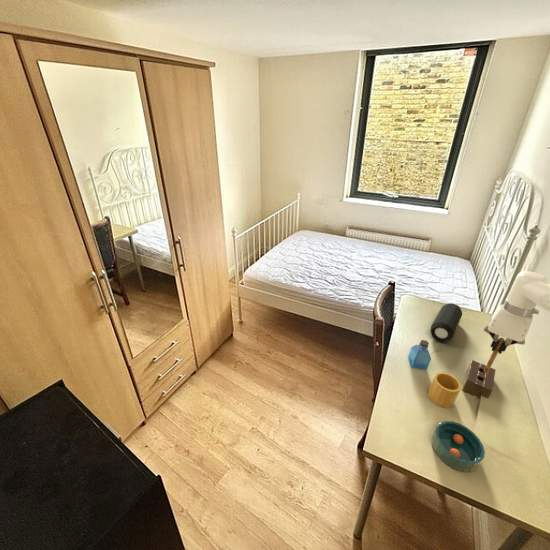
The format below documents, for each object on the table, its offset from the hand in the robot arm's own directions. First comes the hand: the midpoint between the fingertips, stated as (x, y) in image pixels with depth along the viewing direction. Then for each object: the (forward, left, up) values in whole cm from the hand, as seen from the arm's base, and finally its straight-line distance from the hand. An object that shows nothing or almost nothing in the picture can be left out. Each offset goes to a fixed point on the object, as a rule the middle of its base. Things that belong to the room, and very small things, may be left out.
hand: (496, 350), depth 104 cm
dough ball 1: (+2, +28, -20) cm, 34 cm away
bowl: (+2, +31, -22) cm, 38 cm away
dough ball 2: (+2, +34, -20) cm, 39 cm away
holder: (0, -4, -22) cm, 22 cm away
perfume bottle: (+22, -1, -22) cm, 31 cm away
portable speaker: (+18, -34, -22) cm, 44 cm away
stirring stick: (0, 0, -11) cm, 11 cm away
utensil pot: (+10, +12, -22) cm, 27 cm away
